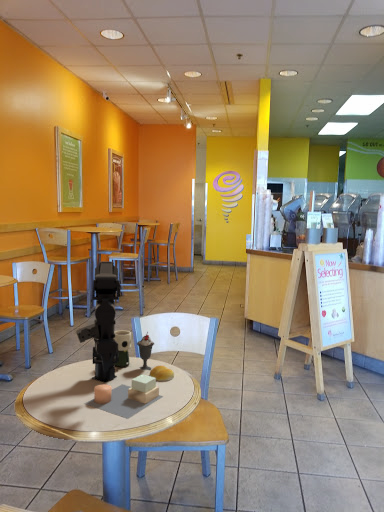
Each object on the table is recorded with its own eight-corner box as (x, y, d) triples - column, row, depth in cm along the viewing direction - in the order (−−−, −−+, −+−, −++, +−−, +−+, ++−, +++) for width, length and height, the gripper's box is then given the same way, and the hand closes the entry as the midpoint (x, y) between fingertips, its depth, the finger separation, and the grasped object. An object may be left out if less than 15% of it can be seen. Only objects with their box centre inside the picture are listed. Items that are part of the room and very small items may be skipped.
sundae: (146, 373, 151) (147, 334, 150) (132, 369, 154) (133, 330, 153) (157, 368, 156) (158, 330, 155) (143, 364, 160) (144, 327, 159)
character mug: (119, 371, 152) (119, 337, 151) (104, 367, 156) (105, 334, 155) (137, 363, 161) (138, 331, 160) (123, 359, 165) (124, 328, 164)
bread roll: (160, 384, 142) (161, 373, 141) (146, 376, 148) (146, 366, 148) (179, 379, 147) (179, 368, 147) (164, 371, 154) (164, 361, 153)
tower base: (127, 398, 128) (128, 389, 128) (141, 390, 134) (141, 381, 134) (145, 403, 125) (146, 394, 125) (158, 395, 131) (159, 386, 131)
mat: (84, 404, 124) (84, 403, 124) (122, 385, 139) (122, 384, 139) (127, 420, 115) (127, 418, 115) (163, 397, 131) (163, 396, 131)
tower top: (131, 388, 128) (131, 379, 128) (142, 383, 133) (142, 374, 133) (145, 392, 126) (145, 383, 125) (155, 387, 130) (156, 377, 130)
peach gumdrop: (90, 401, 125) (90, 388, 125) (102, 395, 130) (102, 383, 130) (103, 405, 123) (103, 392, 123) (114, 399, 127) (115, 386, 127)
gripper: (77, 311, 131) (77, 359, 132) (78, 324, 113) (78, 379, 114) (112, 310, 134) (111, 357, 135) (118, 322, 117) (117, 376, 117)
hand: (104, 366), depth 125 cm, fingers open, 9 cm apart
